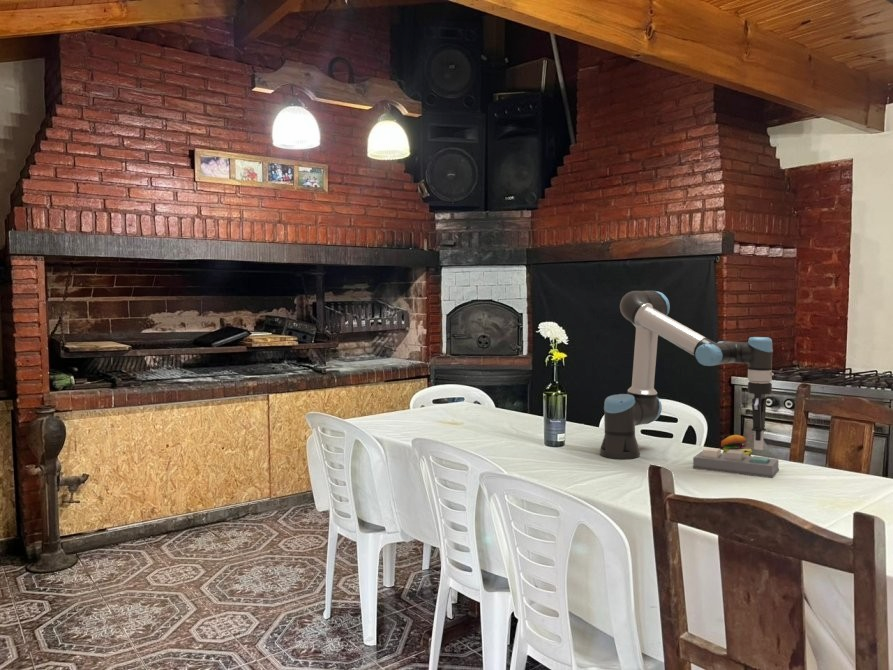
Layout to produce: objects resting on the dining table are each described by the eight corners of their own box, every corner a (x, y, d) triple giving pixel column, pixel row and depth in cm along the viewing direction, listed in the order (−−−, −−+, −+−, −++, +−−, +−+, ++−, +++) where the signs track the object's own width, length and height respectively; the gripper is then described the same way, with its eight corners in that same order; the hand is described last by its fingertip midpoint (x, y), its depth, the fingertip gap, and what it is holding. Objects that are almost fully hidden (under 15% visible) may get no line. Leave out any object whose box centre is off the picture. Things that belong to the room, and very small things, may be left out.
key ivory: (702, 459, 238) (702, 449, 238) (706, 456, 242) (706, 447, 242) (717, 461, 235) (717, 451, 235) (720, 458, 240) (720, 448, 239)
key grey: (726, 462, 234) (726, 452, 234) (729, 459, 238) (729, 449, 238) (741, 463, 231) (741, 454, 231) (744, 461, 235) (744, 451, 235)
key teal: (750, 468, 229) (750, 458, 229) (753, 465, 233) (753, 456, 233) (766, 470, 226) (766, 460, 226) (769, 467, 230) (769, 457, 230)
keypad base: (692, 468, 237) (692, 457, 237) (701, 461, 247) (701, 451, 247) (772, 478, 222) (772, 466, 222) (778, 470, 232) (778, 459, 232)
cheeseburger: (735, 462, 244) (730, 435, 246) (717, 463, 254) (712, 437, 256) (758, 459, 247) (753, 432, 249) (739, 460, 257) (734, 434, 259)
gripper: (768, 384, 221) (766, 454, 222) (775, 380, 232) (773, 447, 233) (744, 383, 225) (742, 451, 227) (751, 379, 236) (750, 444, 237)
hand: (758, 449), depth 230 cm, fingers closed
